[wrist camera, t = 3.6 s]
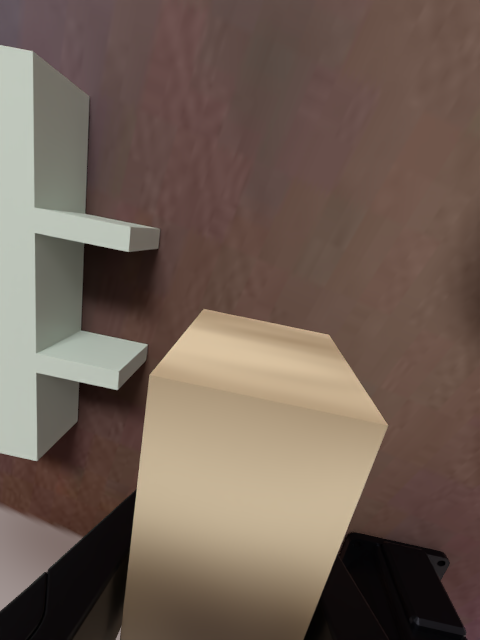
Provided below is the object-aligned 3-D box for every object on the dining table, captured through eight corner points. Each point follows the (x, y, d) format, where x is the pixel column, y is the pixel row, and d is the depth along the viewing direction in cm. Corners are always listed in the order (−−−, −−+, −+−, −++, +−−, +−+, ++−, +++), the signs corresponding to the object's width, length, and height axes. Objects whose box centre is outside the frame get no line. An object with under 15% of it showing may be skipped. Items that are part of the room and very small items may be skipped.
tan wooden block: (255, 584, 11) (249, 774, 7) (163, 563, 11) (108, 739, 7) (328, 334, 8) (388, 425, 4) (203, 309, 8) (149, 375, 4)
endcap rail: (138, 434, 19) (110, 477, 15) (32, 411, 19) (-18, 449, 16) (172, 112, 14) (142, 71, 10) (27, 84, 14) (-49, 35, 10)
